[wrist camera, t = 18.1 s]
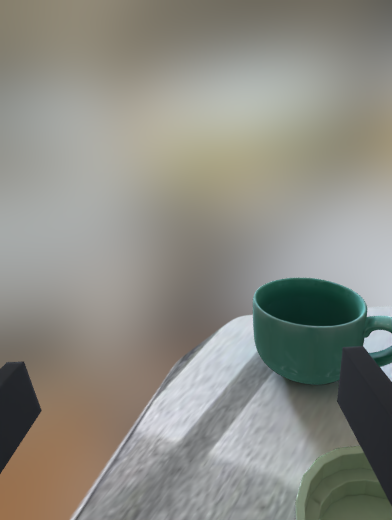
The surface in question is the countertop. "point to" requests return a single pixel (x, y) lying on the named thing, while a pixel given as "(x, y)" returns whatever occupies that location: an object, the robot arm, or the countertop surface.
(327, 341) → the mug
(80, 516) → the countertop surface
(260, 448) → the countertop surface
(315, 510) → the bowl
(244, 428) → the countertop surface
